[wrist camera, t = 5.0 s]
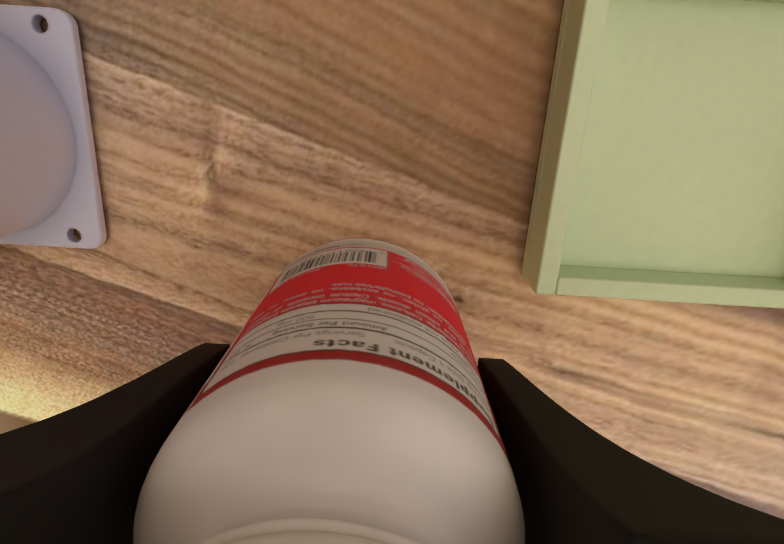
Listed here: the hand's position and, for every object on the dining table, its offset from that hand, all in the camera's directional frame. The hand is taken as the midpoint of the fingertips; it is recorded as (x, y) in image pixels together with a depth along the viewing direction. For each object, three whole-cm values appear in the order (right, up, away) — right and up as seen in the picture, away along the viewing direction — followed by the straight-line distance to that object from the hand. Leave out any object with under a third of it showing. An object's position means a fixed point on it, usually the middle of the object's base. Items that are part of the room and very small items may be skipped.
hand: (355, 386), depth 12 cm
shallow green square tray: (+11, +7, +5) cm, 15 cm away
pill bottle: (0, +1, +3) cm, 4 cm away
